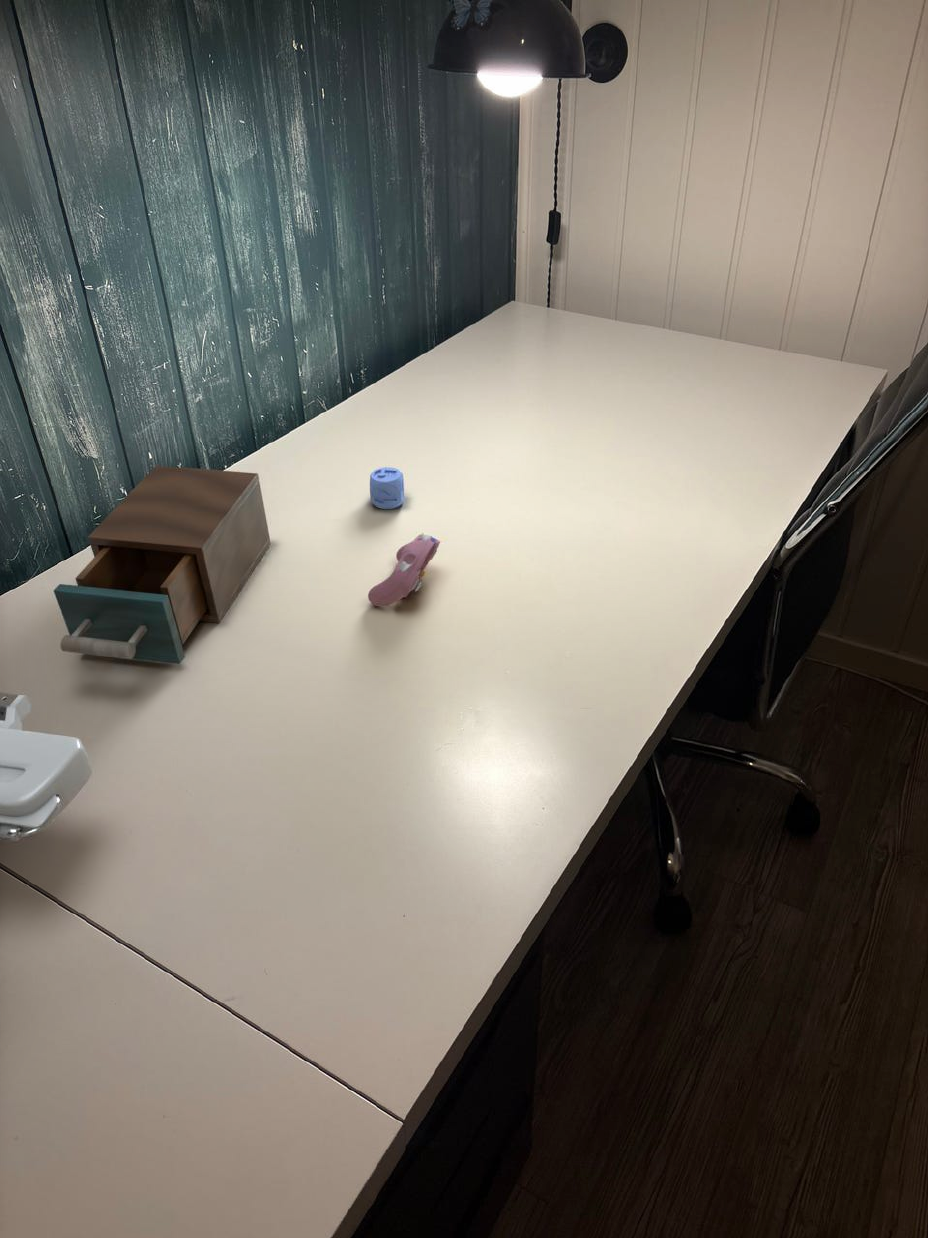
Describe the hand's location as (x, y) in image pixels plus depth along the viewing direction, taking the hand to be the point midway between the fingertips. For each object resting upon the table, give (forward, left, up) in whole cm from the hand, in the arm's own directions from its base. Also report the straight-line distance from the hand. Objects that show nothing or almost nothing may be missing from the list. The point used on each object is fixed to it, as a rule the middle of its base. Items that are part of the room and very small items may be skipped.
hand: (14, 699), depth 79 cm
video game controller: (+26, +32, -8) cm, 43 cm away
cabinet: (+1, +30, -8) cm, 31 cm away
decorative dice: (+19, +50, -8) cm, 55 cm away
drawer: (+1, +19, -7) cm, 21 cm away
